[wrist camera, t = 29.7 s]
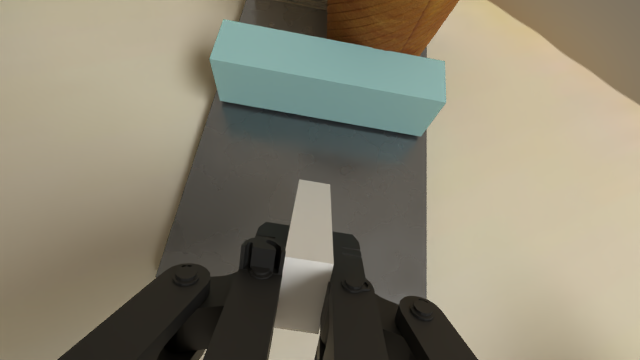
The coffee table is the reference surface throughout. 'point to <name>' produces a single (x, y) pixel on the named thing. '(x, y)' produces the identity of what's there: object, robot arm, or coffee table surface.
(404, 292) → the base
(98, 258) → the coffee table surface
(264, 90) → the bar
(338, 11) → the disposable coffee cup
